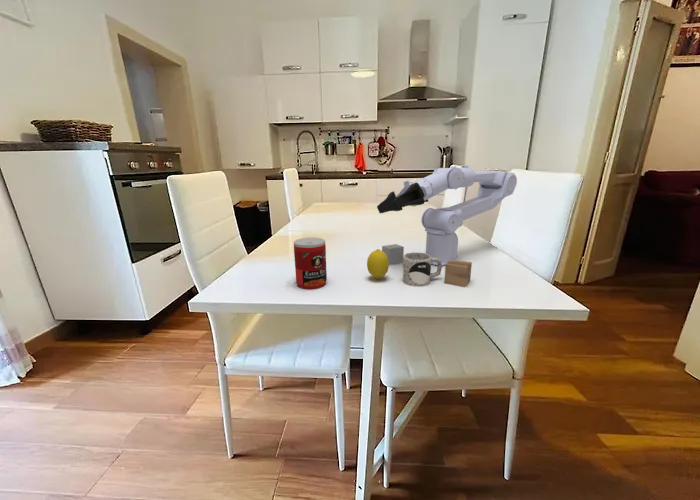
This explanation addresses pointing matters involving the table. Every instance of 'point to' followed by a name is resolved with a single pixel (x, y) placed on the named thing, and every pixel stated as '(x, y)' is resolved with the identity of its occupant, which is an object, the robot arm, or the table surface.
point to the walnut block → (457, 272)
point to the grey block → (394, 253)
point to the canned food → (310, 262)
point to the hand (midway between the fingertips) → (386, 207)
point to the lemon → (377, 263)
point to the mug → (419, 269)
